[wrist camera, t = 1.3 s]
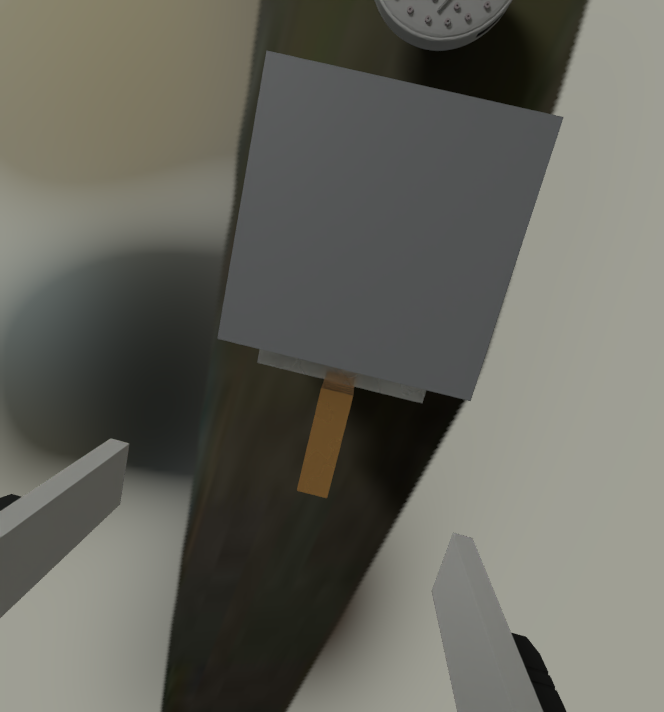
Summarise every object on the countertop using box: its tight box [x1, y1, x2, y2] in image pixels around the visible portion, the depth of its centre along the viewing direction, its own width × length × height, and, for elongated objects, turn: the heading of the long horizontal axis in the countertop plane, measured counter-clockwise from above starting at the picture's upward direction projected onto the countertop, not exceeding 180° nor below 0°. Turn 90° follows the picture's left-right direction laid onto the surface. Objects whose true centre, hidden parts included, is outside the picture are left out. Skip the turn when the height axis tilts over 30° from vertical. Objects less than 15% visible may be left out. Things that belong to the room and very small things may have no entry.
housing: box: [218, 51, 563, 401], centre depth 27 cm, size 14×14×14 cm
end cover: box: [257, 349, 426, 498], centre depth 26 cm, size 19×10×10 cm, turn 167°
